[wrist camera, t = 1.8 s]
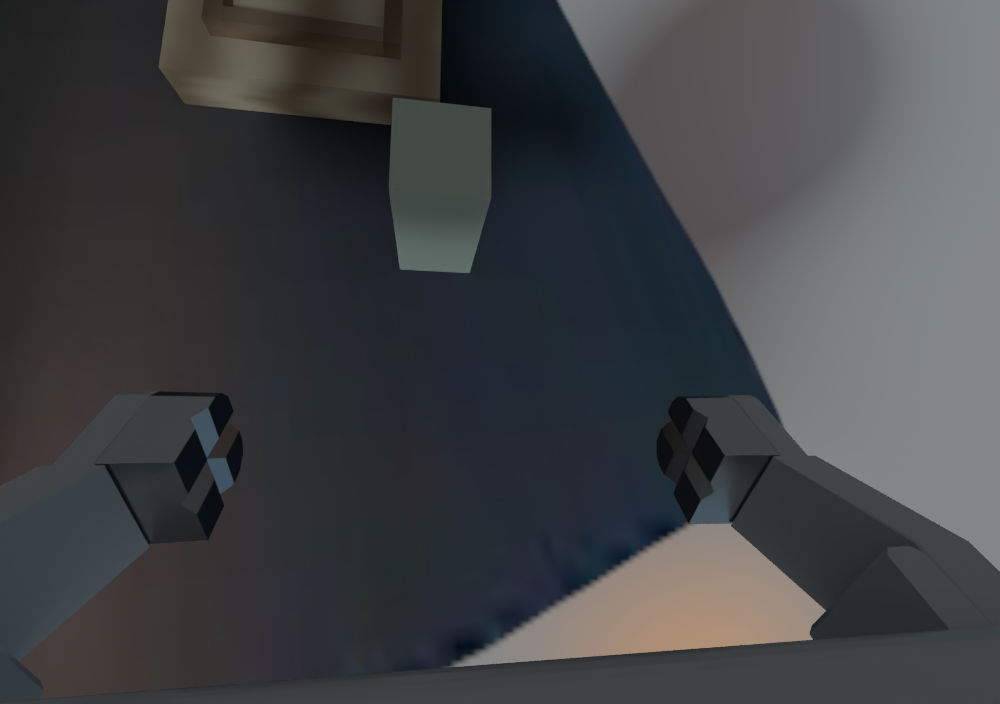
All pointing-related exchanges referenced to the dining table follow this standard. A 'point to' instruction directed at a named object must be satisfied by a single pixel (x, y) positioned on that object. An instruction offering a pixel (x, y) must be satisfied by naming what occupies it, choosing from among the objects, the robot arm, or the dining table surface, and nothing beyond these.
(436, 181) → the sage block
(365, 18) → the plinth
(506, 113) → the dining table surface
